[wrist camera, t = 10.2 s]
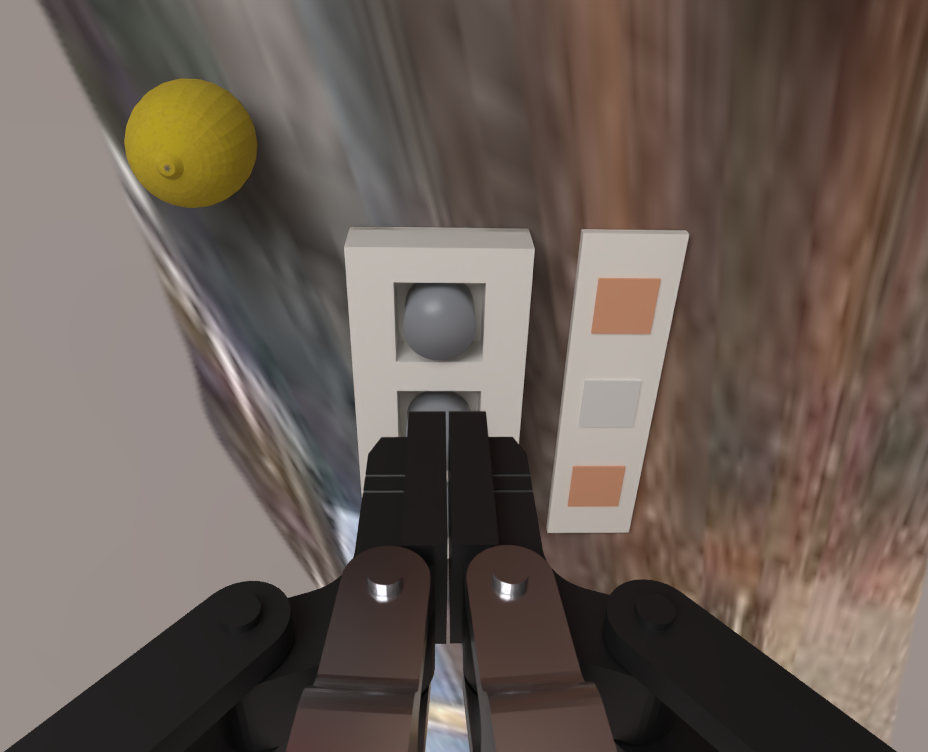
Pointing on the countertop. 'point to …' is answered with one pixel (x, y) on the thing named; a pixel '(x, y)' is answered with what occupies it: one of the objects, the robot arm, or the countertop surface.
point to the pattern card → (612, 374)
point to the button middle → (438, 406)
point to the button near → (439, 319)
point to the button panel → (382, 317)
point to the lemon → (190, 143)
